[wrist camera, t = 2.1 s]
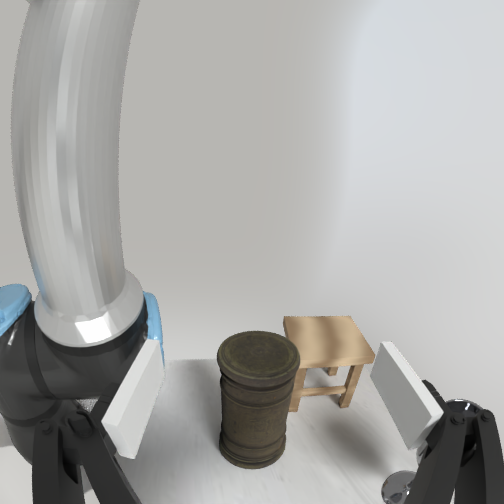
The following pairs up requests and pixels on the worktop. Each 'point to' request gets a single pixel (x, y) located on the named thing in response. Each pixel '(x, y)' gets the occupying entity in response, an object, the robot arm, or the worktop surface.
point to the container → (255, 396)
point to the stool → (327, 353)
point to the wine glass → (401, 481)
